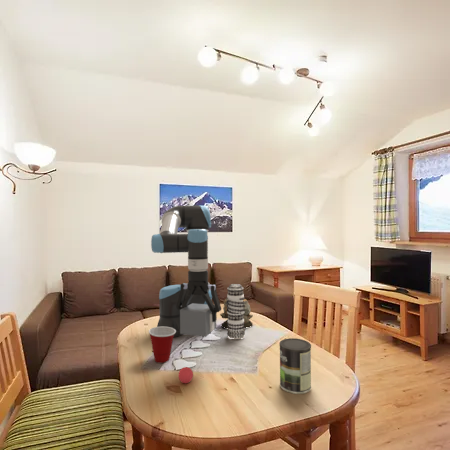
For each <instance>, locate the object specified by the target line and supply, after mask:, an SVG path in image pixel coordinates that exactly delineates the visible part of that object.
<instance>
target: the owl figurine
mask: <svg viewBox="0 0 450 450" xmlns="http://www.w3.org/2000/svg"><path fill="white" fill-rule="evenodd" d="M226 301H227V300H226V299H224V301H223V307H222V308H223V312H222V313H219V315H220V317H221V318H222V319H227V320H225V321H223V322H222V323H221V327H222V326H223V327H225V328H228V327H227V325H228V324H227V322H228V313H227V305H228V304H227V303H226ZM243 301H244V302H245V303H244V304H243V305H245V307H243V309H245V311H244V312H245V313H244V314H243V315H244V322H245V324H244V326H245V327H244V328H245V329H247V328H246V327H249V328H251V327H252V326H253V322H252V321H251V318H253V316H254V315H253V314H252V313H251V306H250V303H249V301H248V300H247V299H246V298H245V299H244V300H243ZM250 326H251V327H250ZM223 327H222V328H223ZM225 328H224V329H225Z"/></svg>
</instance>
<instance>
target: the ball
mask: <svg viewBox="0 0 450 450" xmlns="http://www.w3.org/2000/svg"><path fill="white" fill-rule="evenodd" d="M193 377H194V372H193V370H192V369H191V367H187V366H184V367H182V368H181V369H180V370H179V372H178V379H179V382H181V383H182V384H188V383H190V382H192V380H193Z"/></svg>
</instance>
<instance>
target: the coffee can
mask: <svg viewBox="0 0 450 450" xmlns="http://www.w3.org/2000/svg"><path fill="white" fill-rule="evenodd" d="M278 344H279V386H280V388H281V389H282V390H283V391H285V392H287V393H290V394H293V395H304V394H307V393H309V392H310V391H311V390H312V372H311V371H312V365H311V363H312V354H311V353H312V352H311V349H312V344H311V342H309V341H307V340H305V339H303V338H302V339H301V338H293V337H292V338H291V337H290V338H284V339H282V340H280V341H279V343H278Z"/></svg>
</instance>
